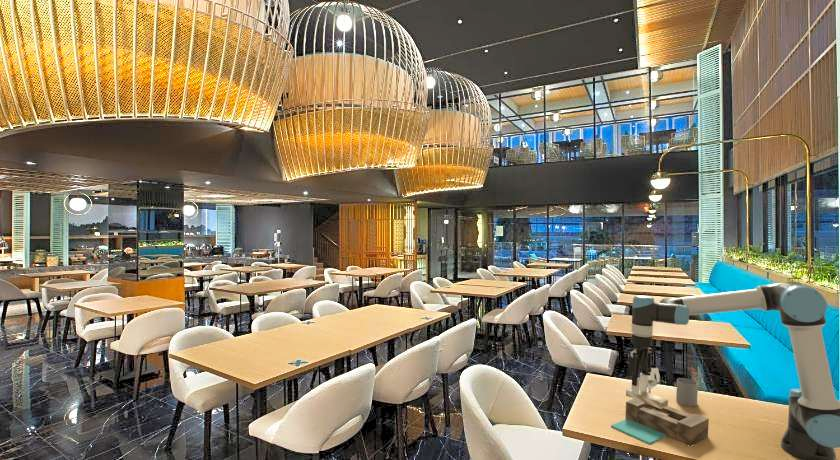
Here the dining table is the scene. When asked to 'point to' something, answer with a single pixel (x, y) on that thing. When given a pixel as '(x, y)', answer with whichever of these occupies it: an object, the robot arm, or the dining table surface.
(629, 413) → the cradle
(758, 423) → the dining table surface
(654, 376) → the wineglass
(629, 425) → the mat
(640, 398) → the tile
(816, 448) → the robot arm
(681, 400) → the cup
